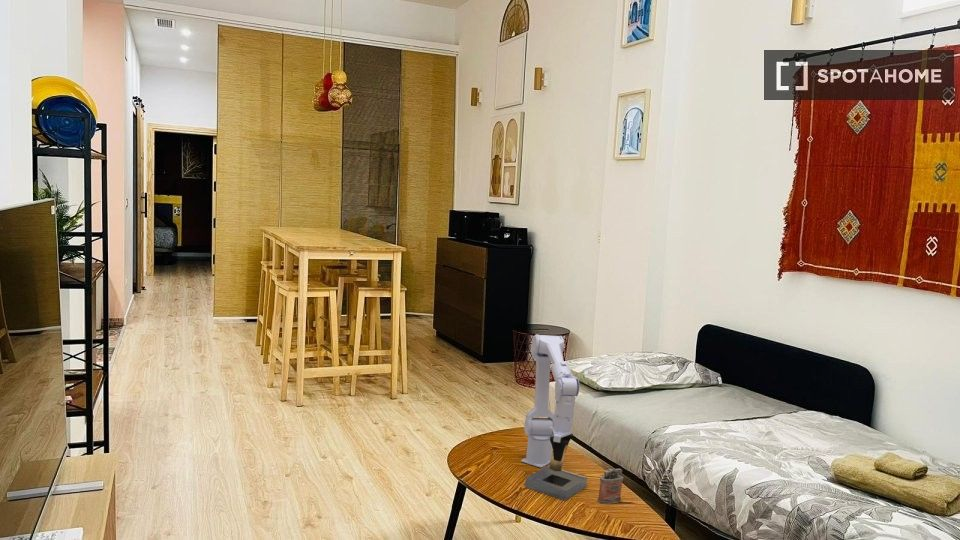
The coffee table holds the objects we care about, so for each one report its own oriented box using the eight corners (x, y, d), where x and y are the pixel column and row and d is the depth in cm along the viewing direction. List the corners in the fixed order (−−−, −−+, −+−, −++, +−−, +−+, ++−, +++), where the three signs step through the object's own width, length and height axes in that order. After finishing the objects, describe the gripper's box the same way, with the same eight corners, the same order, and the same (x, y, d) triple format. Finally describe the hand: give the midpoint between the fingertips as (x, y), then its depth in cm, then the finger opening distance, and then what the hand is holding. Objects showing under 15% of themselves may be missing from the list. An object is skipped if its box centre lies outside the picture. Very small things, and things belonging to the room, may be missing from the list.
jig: (547, 474, 241) (548, 464, 241) (586, 486, 233) (587, 476, 233) (524, 487, 228) (525, 476, 228) (565, 500, 221) (566, 490, 221)
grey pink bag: (601, 504, 221) (605, 472, 219) (595, 500, 223) (598, 468, 222) (622, 501, 224) (626, 470, 223) (616, 497, 227) (619, 466, 226)
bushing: (549, 464, 231) (555, 440, 230) (563, 468, 230) (568, 444, 229) (546, 468, 227) (551, 444, 226) (560, 472, 225) (565, 448, 224)
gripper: (556, 407, 234) (552, 448, 236) (545, 419, 221) (541, 462, 222) (578, 411, 232) (573, 453, 234) (568, 423, 218) (563, 467, 220)
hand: (559, 458), depth 228 cm, fingers closed on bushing, 4 cm apart
